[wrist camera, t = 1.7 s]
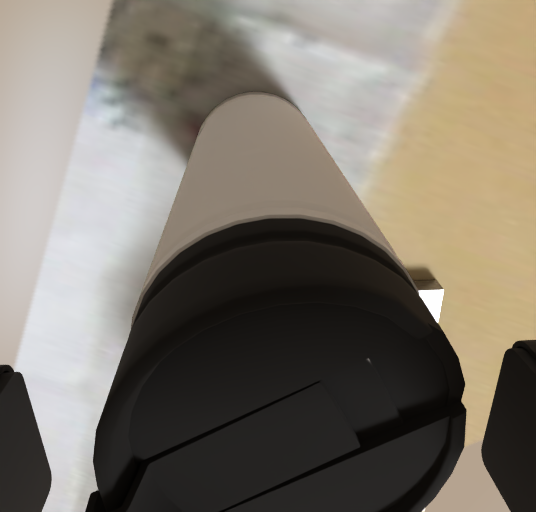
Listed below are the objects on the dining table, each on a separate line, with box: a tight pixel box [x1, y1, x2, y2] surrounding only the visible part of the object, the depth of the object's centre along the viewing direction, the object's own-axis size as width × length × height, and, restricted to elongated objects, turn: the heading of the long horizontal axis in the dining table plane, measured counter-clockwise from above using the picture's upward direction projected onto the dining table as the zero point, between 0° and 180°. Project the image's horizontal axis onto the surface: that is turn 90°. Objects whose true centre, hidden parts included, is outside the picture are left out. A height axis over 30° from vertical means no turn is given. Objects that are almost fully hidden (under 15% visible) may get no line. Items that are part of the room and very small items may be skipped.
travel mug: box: [85, 92, 466, 512], centre depth 16 cm, size 6×7×20 cm
